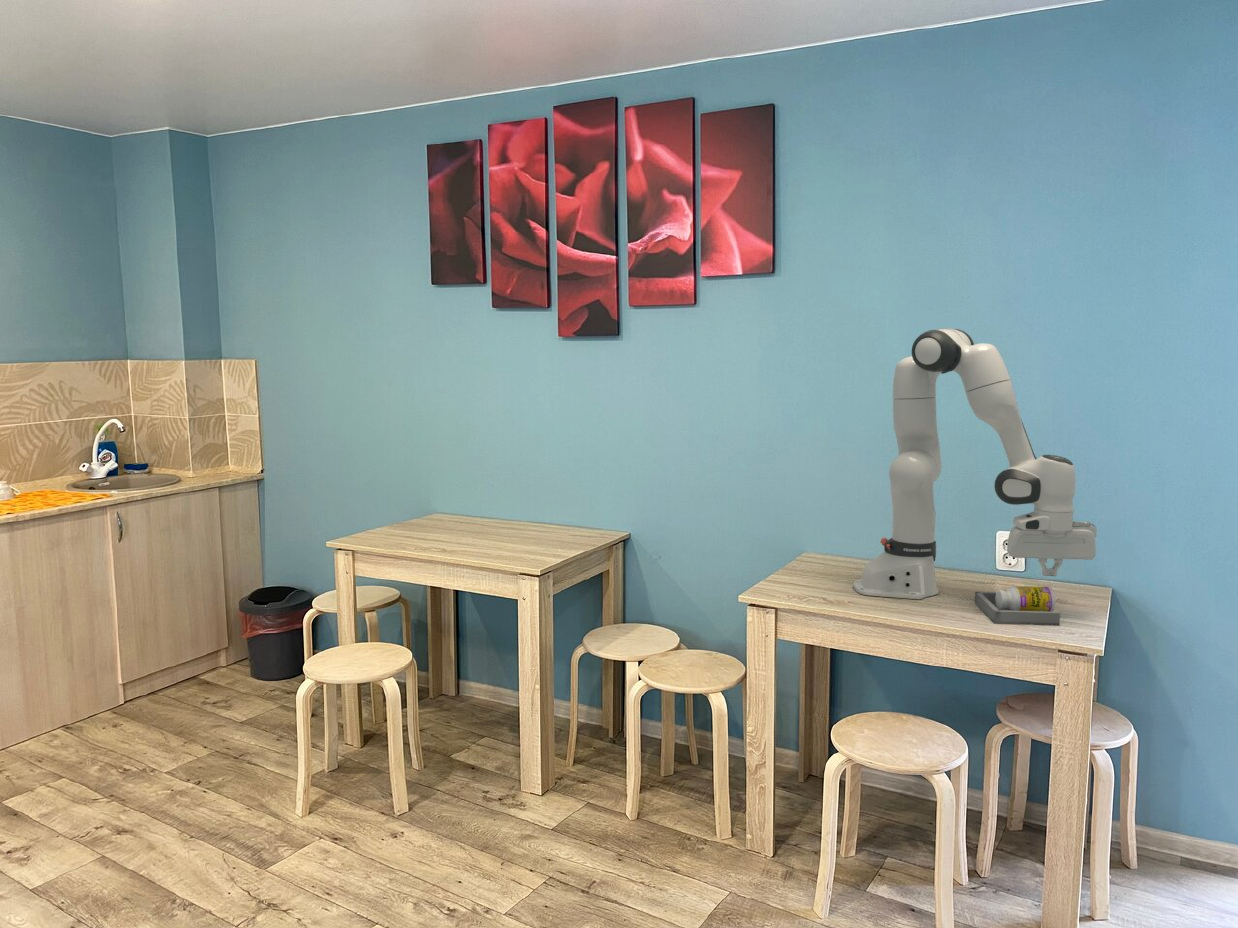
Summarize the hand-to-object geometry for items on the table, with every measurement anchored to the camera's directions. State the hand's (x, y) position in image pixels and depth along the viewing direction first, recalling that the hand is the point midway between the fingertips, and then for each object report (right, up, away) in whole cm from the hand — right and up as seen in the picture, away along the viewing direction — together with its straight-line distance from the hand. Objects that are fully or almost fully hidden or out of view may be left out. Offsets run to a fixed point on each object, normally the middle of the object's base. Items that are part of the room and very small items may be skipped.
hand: (1049, 575), depth 231 cm
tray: (-8, -10, +2) cm, 12 cm away
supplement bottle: (+1, -6, 0) cm, 6 cm away
